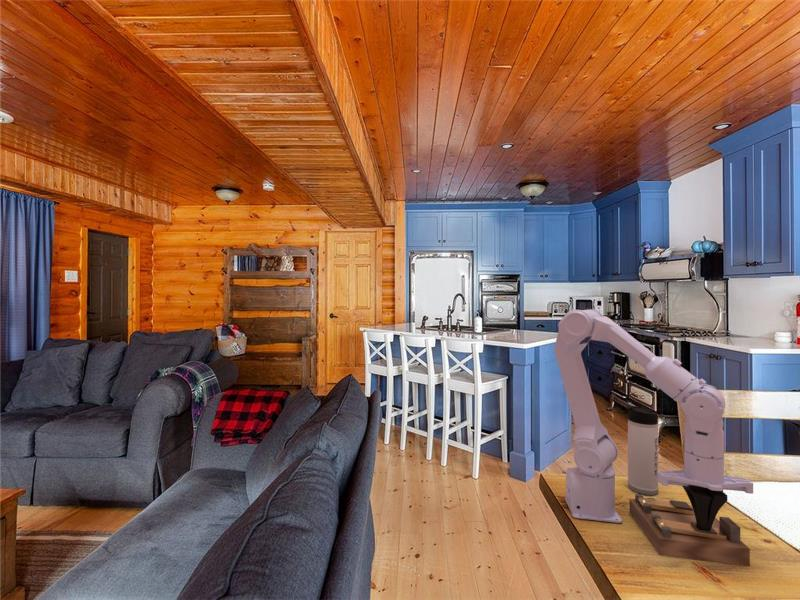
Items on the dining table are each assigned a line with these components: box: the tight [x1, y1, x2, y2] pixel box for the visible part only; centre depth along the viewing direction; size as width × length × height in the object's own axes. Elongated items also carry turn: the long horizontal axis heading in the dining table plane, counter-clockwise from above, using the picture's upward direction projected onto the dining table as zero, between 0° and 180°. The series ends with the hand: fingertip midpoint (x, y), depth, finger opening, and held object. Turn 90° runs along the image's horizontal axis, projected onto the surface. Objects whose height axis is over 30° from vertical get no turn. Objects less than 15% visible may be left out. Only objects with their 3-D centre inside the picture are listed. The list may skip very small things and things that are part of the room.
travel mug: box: [626, 405, 659, 496], centre depth 93 cm, size 6×7×20 cm
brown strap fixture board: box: [628, 493, 751, 567], centre depth 74 cm, size 14×14×6 cm
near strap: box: [655, 518, 727, 540], centre depth 70 cm, size 11×3×1 cm, turn 78°
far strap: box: [638, 497, 695, 515], centre depth 78 cm, size 10×3×1 cm, turn 78°
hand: (703, 526), depth 70 cm, fingers closed
